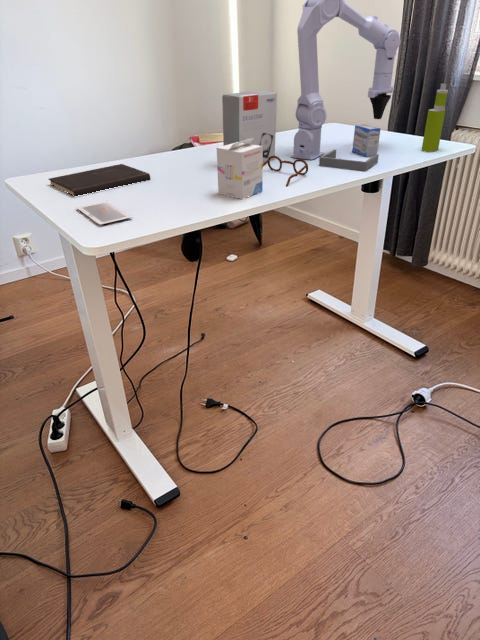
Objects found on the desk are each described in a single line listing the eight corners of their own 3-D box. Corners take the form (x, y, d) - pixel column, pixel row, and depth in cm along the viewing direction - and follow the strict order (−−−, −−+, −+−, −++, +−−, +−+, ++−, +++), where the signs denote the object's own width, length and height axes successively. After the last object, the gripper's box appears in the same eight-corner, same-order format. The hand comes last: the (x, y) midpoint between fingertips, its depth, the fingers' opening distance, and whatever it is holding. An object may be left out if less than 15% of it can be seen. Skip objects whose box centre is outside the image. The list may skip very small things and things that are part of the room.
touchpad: (107, 205, 121) (105, 196, 120) (133, 221, 111) (132, 212, 110) (76, 211, 118) (74, 202, 116) (100, 229, 107) (98, 219, 106)
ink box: (238, 186, 132) (237, 134, 125) (263, 191, 127) (263, 138, 120) (217, 194, 126) (215, 139, 119) (242, 200, 121) (241, 144, 114)
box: (365, 171, 142) (366, 162, 140) (319, 165, 148) (319, 157, 147) (377, 162, 150) (378, 154, 149) (333, 157, 157) (333, 149, 155)
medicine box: (351, 152, 162) (354, 125, 158) (362, 151, 164) (365, 123, 159) (366, 157, 156) (369, 129, 151) (377, 156, 158) (381, 127, 153)
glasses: (308, 177, 140) (309, 159, 137) (286, 188, 130) (287, 169, 128) (268, 171, 146) (269, 154, 143) (245, 182, 137) (245, 163, 134)
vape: (440, 149, 163) (452, 83, 153) (429, 152, 160) (441, 85, 150) (430, 147, 166) (442, 83, 155) (419, 150, 163) (430, 84, 152)
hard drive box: (238, 168, 147) (237, 96, 137) (222, 164, 152) (220, 94, 142) (276, 160, 155) (277, 91, 145) (260, 156, 160) (260, 89, 150)
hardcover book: (50, 186, 136) (48, 178, 135) (122, 171, 149) (121, 163, 148) (75, 199, 126) (73, 190, 125) (151, 181, 139) (150, 173, 137)
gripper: (381, 70, 162) (376, 114, 169) (361, 74, 152) (356, 120, 160) (401, 71, 158) (395, 116, 165) (382, 75, 149) (376, 122, 156)
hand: (377, 118), depth 162 cm, fingers closed
